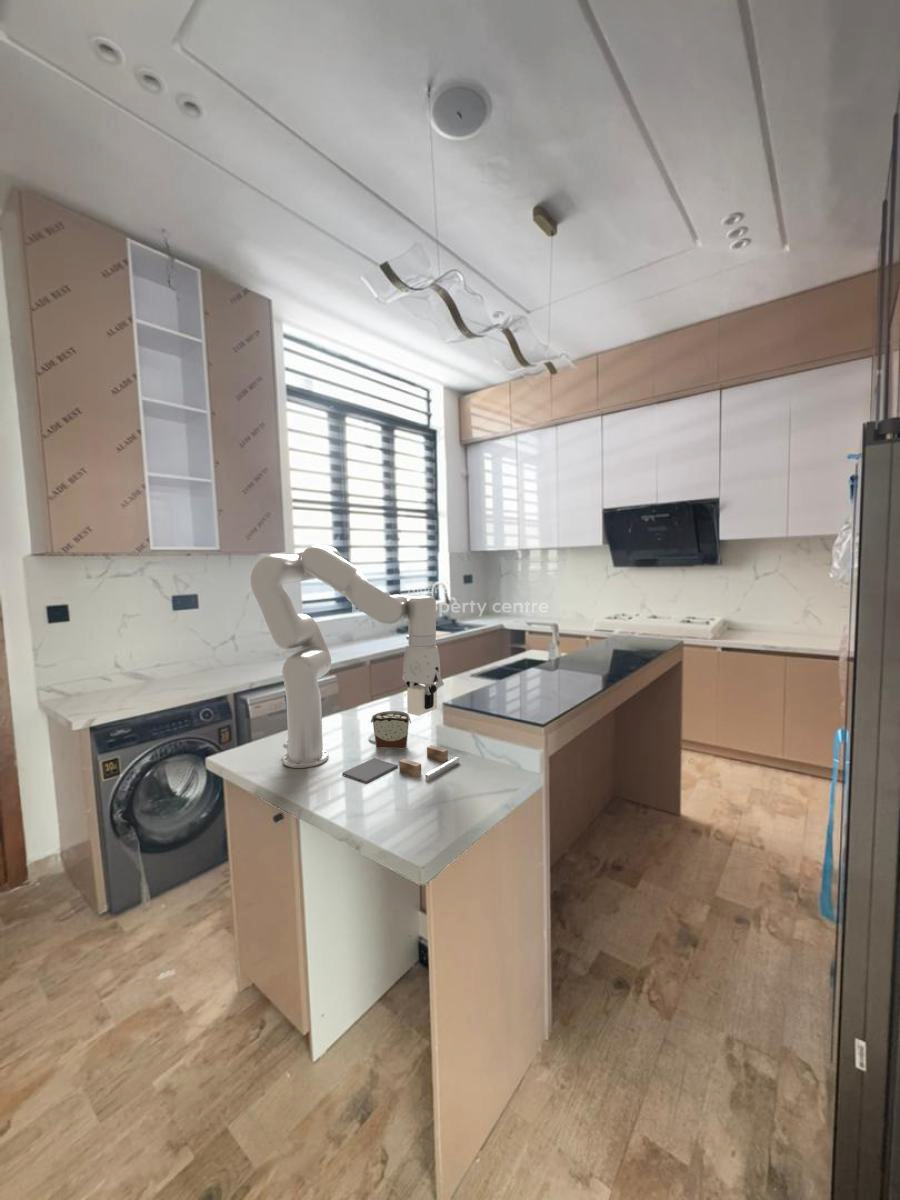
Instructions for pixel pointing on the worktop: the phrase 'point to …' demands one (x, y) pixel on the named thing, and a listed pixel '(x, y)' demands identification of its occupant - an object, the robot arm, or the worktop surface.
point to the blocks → (432, 753)
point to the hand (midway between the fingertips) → (422, 705)
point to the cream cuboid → (418, 700)
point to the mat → (370, 770)
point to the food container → (391, 729)
